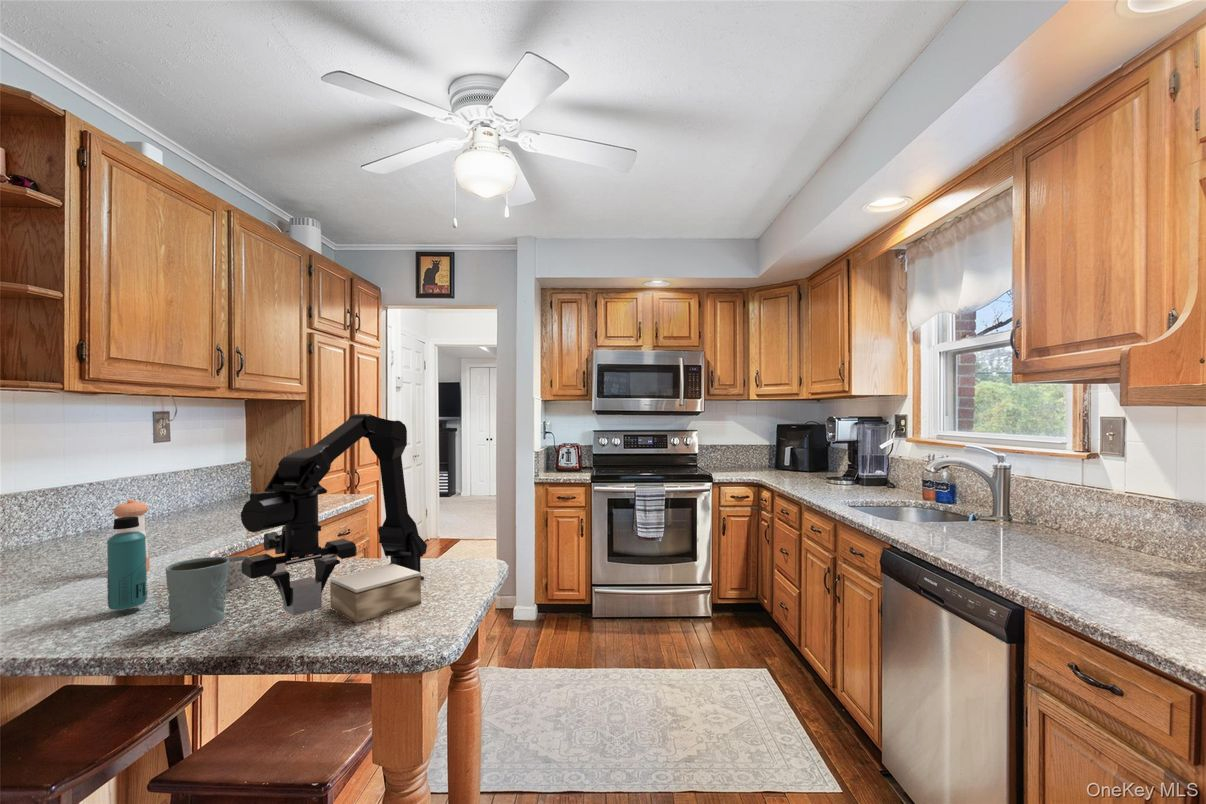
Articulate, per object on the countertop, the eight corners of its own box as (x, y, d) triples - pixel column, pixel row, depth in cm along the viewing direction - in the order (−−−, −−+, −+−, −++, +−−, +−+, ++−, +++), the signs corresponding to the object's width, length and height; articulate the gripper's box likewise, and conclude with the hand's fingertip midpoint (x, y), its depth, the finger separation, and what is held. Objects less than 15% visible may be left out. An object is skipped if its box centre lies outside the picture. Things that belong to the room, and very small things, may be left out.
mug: (234, 581, 134) (233, 554, 134) (256, 583, 133) (256, 556, 133) (196, 595, 124) (195, 566, 124) (220, 597, 123) (219, 568, 123)
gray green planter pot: (152, 633, 103) (151, 570, 103) (194, 613, 113) (194, 556, 113) (203, 634, 103) (202, 570, 103) (241, 613, 113) (241, 556, 113)
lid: (392, 566, 125) (392, 563, 125) (420, 575, 117) (420, 572, 117) (330, 581, 115) (330, 578, 115) (356, 592, 107) (356, 589, 107)
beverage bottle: (138, 615, 113) (137, 519, 113) (99, 619, 111) (98, 521, 111) (154, 604, 119) (153, 513, 119) (117, 607, 117) (116, 515, 117)
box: (393, 591, 125) (392, 566, 125) (420, 602, 117) (420, 577, 117) (330, 608, 115) (330, 582, 115) (356, 623, 107) (356, 594, 107)
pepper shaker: (149, 572, 143) (148, 499, 143) (112, 578, 138) (111, 503, 139) (149, 566, 149) (148, 496, 149) (113, 571, 144) (113, 499, 144)
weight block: (311, 601, 107) (310, 576, 107) (321, 607, 104) (321, 581, 104) (283, 609, 104) (283, 583, 104) (293, 615, 100) (293, 588, 100)
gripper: (333, 508, 116) (334, 581, 116) (231, 523, 102) (232, 606, 102) (357, 514, 109) (358, 592, 109) (251, 531, 95) (252, 621, 95)
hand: (302, 601), depth 104 cm, fingers closed on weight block, 5 cm apart
